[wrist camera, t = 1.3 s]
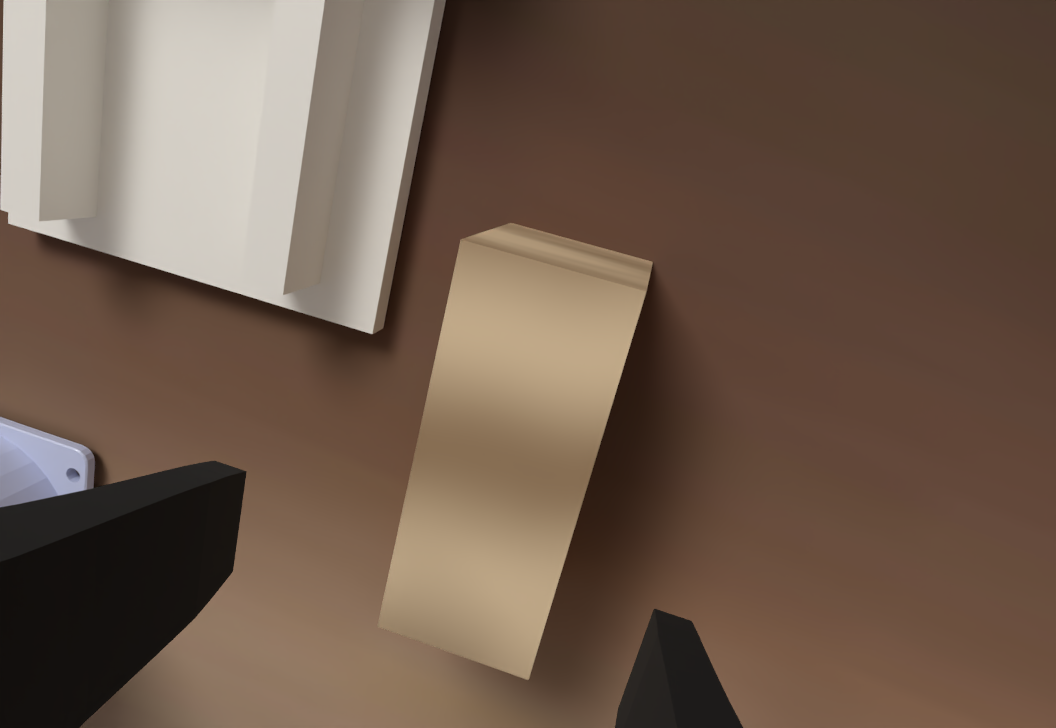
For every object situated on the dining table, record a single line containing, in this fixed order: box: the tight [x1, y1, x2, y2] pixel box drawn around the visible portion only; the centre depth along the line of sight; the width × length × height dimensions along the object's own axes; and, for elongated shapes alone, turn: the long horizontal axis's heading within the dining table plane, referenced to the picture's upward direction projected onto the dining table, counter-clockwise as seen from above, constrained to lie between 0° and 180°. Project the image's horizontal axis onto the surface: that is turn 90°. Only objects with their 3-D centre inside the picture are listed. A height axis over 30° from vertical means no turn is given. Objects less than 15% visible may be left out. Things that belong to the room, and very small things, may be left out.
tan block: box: [377, 223, 653, 680], centre depth 18 cm, size 10×4×5 cm, turn 166°
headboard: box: [1, 0, 446, 334], centre depth 17 cm, size 14×12×5 cm
